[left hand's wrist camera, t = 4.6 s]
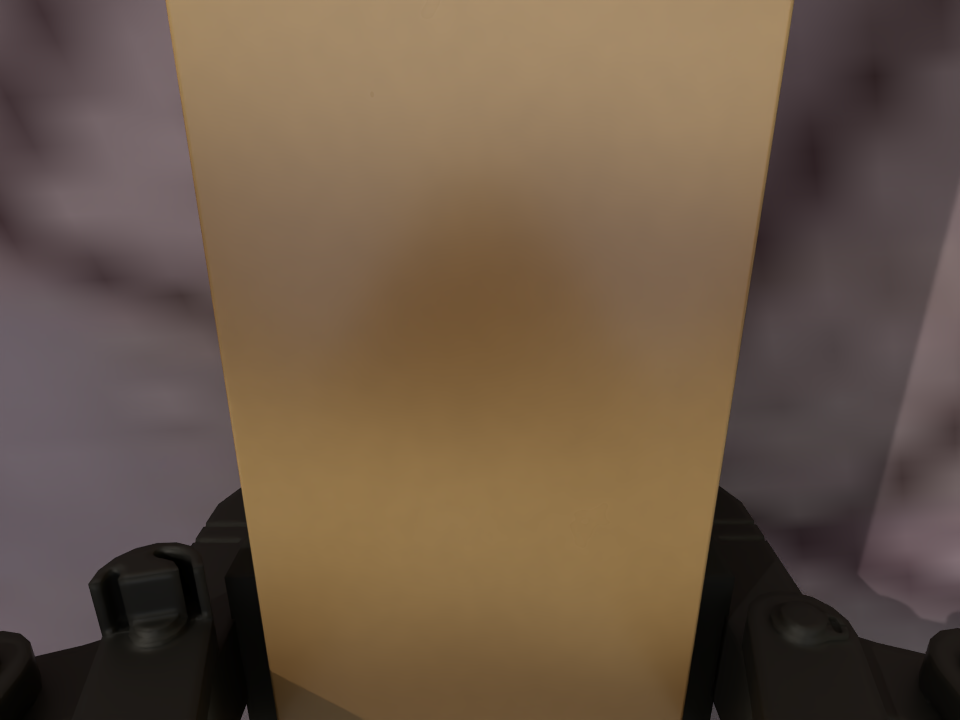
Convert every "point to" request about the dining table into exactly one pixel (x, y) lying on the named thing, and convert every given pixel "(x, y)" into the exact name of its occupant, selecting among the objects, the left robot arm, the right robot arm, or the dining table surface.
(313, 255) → the bar
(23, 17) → the dining table surface
